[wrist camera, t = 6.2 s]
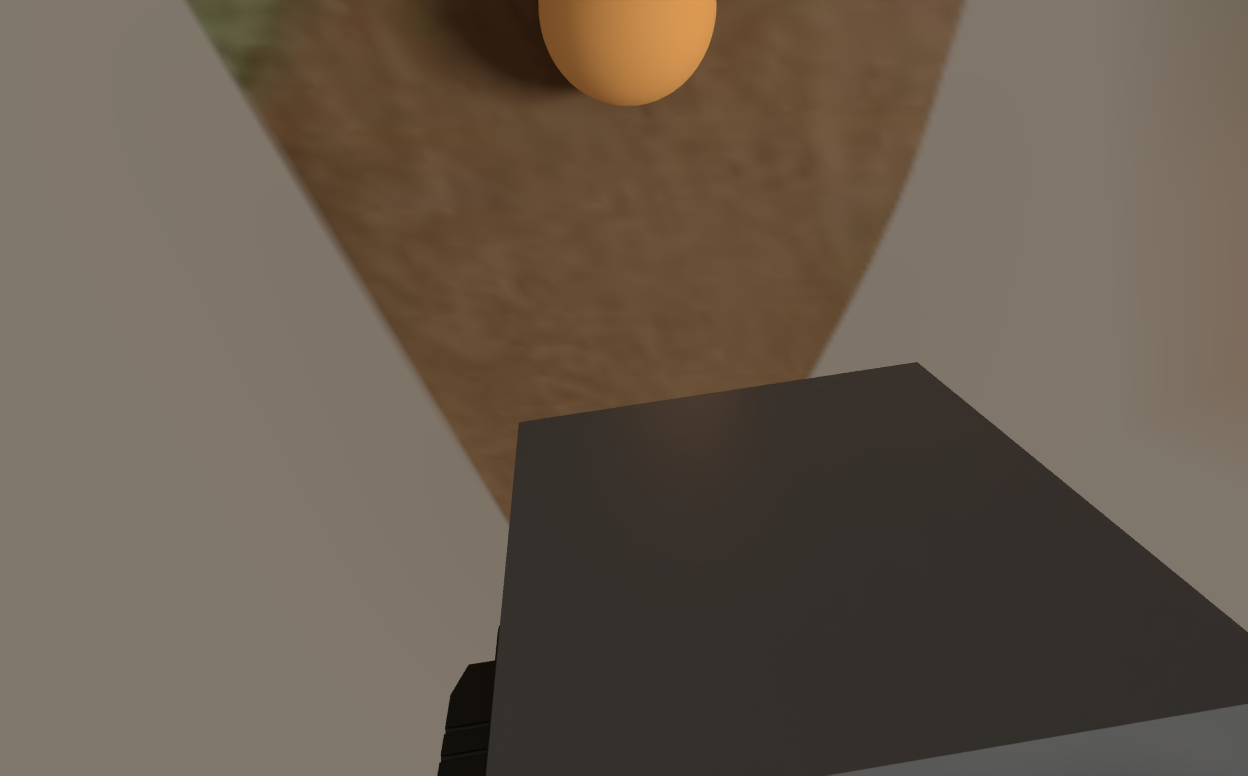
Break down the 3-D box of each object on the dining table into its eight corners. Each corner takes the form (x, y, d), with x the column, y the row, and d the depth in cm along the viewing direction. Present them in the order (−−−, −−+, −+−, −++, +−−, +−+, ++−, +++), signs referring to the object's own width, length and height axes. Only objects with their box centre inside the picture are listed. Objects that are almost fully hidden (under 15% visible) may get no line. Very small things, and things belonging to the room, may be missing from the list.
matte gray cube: (579, 705, 14) (599, 1181, 8) (519, 422, 11) (481, 834, 5) (896, 653, 14) (1144, 1078, 8) (917, 361, 11) (1320, 690, 5)
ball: (506, 18, 21) (495, 11, 17) (614, -123, 20) (633, -172, 16) (623, 133, 23) (641, 153, 19) (729, 10, 22) (775, 0, 17)
